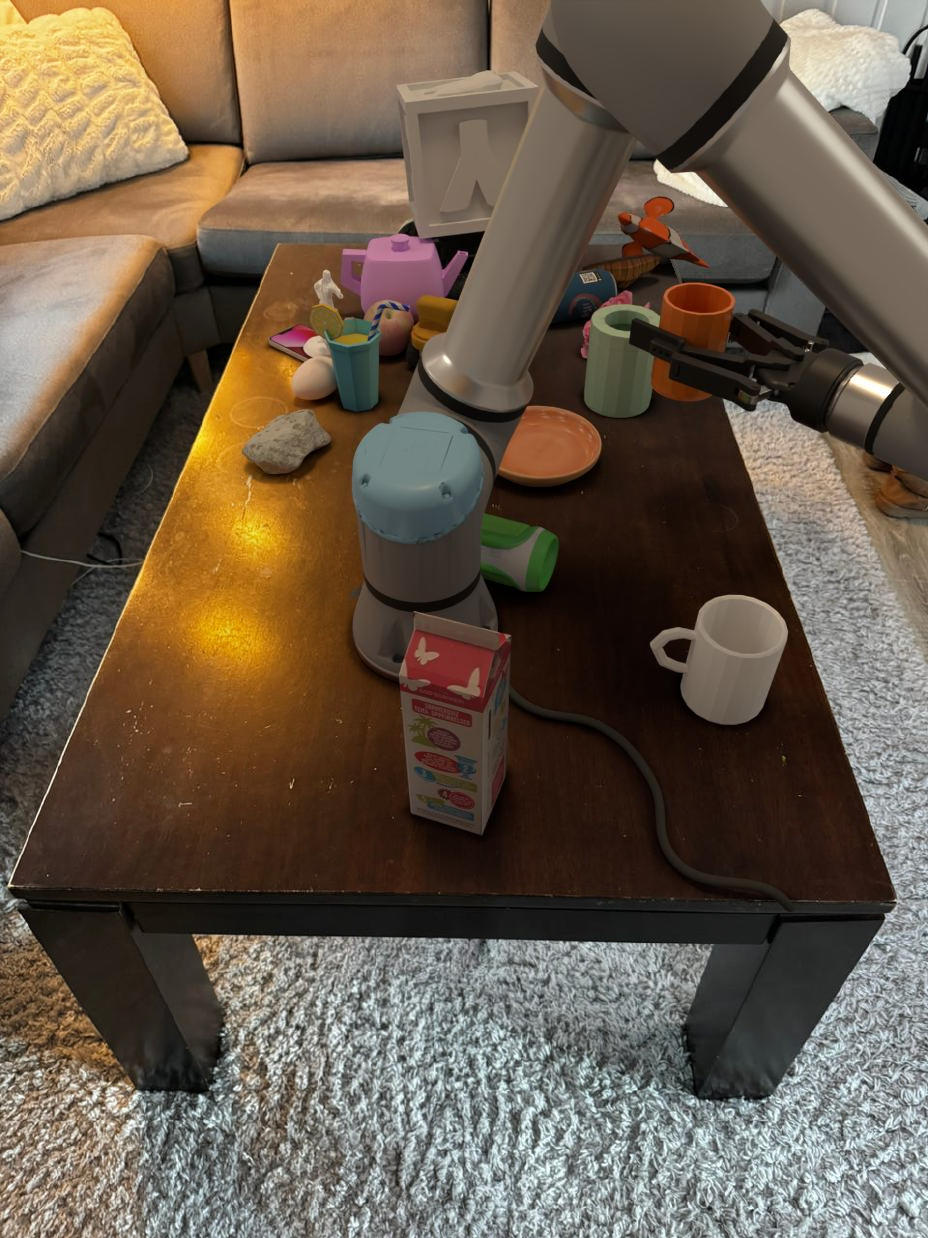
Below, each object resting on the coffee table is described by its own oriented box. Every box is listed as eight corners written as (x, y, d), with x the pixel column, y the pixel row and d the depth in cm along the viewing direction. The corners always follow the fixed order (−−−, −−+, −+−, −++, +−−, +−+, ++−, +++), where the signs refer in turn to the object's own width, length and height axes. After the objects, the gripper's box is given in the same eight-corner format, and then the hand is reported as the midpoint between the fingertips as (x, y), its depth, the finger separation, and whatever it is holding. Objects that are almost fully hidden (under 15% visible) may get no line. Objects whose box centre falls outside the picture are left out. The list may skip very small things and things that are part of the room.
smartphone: (333, 372, 131) (265, 338, 138) (334, 378, 132) (266, 344, 139) (369, 354, 135) (301, 322, 142) (369, 360, 136) (301, 327, 143)
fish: (643, 177, 145) (620, 178, 158) (605, 252, 149) (586, 246, 162) (742, 234, 150) (712, 230, 163) (702, 305, 154) (676, 296, 168)
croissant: (666, 247, 148) (669, 279, 149) (650, 254, 154) (653, 284, 155) (588, 260, 146) (592, 292, 147) (575, 266, 152) (579, 297, 153)
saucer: (583, 506, 110) (585, 486, 108) (460, 481, 114) (459, 462, 112) (611, 436, 121) (613, 416, 118) (497, 415, 124) (498, 396, 122)
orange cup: (729, 392, 99) (749, 305, 91) (673, 407, 97) (689, 320, 89) (692, 362, 103) (708, 277, 96) (638, 375, 101) (650, 290, 94)
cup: (417, 388, 130) (412, 288, 119) (411, 418, 124) (406, 315, 114) (321, 385, 131) (308, 285, 120) (312, 415, 125) (297, 313, 114)
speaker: (532, 602, 95) (551, 589, 102) (547, 536, 93) (565, 527, 100) (384, 559, 100) (412, 549, 107) (395, 495, 98) (423, 489, 105)
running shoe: (570, 212, 148) (570, 192, 157) (394, 202, 149) (403, 182, 158) (563, 281, 155) (563, 258, 164) (395, 270, 156) (404, 248, 165)
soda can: (612, 322, 145) (543, 334, 143) (595, 291, 148) (528, 303, 145) (623, 288, 139) (552, 300, 136) (605, 257, 142) (535, 268, 139)
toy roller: (497, 340, 139) (497, 274, 131) (455, 387, 130) (452, 319, 122) (446, 329, 142) (443, 264, 134) (402, 374, 133) (396, 307, 125)
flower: (576, 381, 137) (556, 316, 135) (619, 363, 142) (600, 300, 140) (631, 364, 128) (609, 294, 125) (674, 346, 133) (655, 278, 130)
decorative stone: (325, 482, 114) (321, 449, 111) (240, 483, 114) (233, 450, 111) (334, 428, 123) (330, 395, 119) (255, 428, 123) (249, 396, 119)
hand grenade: (432, 280, 145) (482, 294, 141) (449, 267, 147) (499, 281, 143) (436, 305, 149) (485, 320, 144) (452, 292, 151) (501, 306, 146)
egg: (322, 362, 131) (279, 387, 128) (328, 340, 126) (284, 365, 123) (346, 390, 131) (303, 416, 127) (353, 370, 126) (309, 396, 122)
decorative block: (410, 209, 153) (394, 73, 141) (520, 196, 154) (515, 59, 142) (419, 239, 138) (403, 89, 126) (542, 224, 139) (538, 74, 127)
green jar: (662, 408, 126) (675, 328, 117) (605, 423, 123) (614, 343, 114) (627, 377, 132) (638, 298, 123) (572, 391, 129) (579, 312, 120)
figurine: (293, 346, 134) (293, 266, 126) (327, 334, 139) (329, 256, 131) (326, 365, 132) (328, 284, 124) (361, 351, 136) (365, 273, 128)
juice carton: (437, 755, 84) (429, 583, 69) (505, 775, 82) (512, 603, 67) (410, 813, 80) (395, 643, 64) (481, 835, 78) (483, 666, 63)
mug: (636, 661, 92) (650, 591, 85) (755, 664, 92) (778, 594, 85) (644, 723, 87) (659, 654, 80) (770, 726, 86) (796, 657, 79)
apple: (397, 375, 136) (381, 337, 129) (362, 356, 139) (344, 318, 132) (430, 339, 137) (416, 300, 130) (395, 321, 141) (379, 282, 134)
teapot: (340, 334, 141) (331, 254, 132) (347, 298, 150) (339, 220, 141) (468, 333, 141) (468, 253, 132) (468, 297, 149) (467, 219, 140)
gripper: (778, 474, 84) (591, 382, 96) (885, 394, 94) (704, 319, 106) (798, 404, 79) (598, 316, 91) (910, 326, 89) (716, 256, 100)
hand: (655, 318), depth 98 cm, fingers closed on orange cup, 7 cm apart
